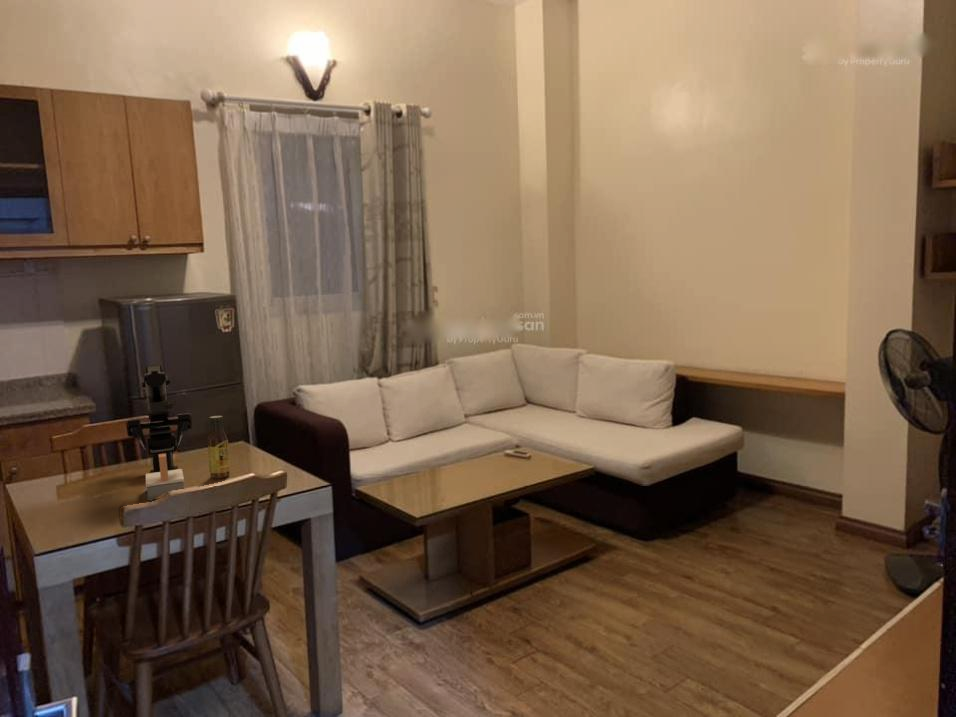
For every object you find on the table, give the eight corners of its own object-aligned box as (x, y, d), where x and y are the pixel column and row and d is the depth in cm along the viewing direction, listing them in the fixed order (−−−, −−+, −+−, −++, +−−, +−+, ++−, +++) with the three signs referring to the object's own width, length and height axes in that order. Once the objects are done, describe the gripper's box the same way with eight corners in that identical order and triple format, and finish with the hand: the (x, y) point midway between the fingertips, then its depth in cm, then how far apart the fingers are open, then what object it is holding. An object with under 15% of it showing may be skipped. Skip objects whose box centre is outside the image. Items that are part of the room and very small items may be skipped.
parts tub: (148, 489, 222) (146, 477, 222) (182, 484, 227) (181, 472, 226) (148, 500, 212) (146, 487, 211) (184, 494, 216) (183, 482, 215)
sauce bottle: (223, 479, 230) (218, 419, 228) (206, 479, 232) (200, 419, 229) (234, 473, 237) (229, 414, 234) (217, 473, 238) (212, 414, 235)
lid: (146, 476, 222) (143, 450, 221) (182, 471, 226) (179, 445, 225) (146, 486, 211) (143, 459, 210) (184, 481, 215) (181, 454, 214)
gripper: (123, 394, 220) (126, 437, 211) (188, 388, 227) (193, 429, 219) (126, 415, 228) (129, 456, 219) (189, 408, 236) (194, 448, 227)
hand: (162, 447), depth 221 cm, fingers open, 9 cm apart
